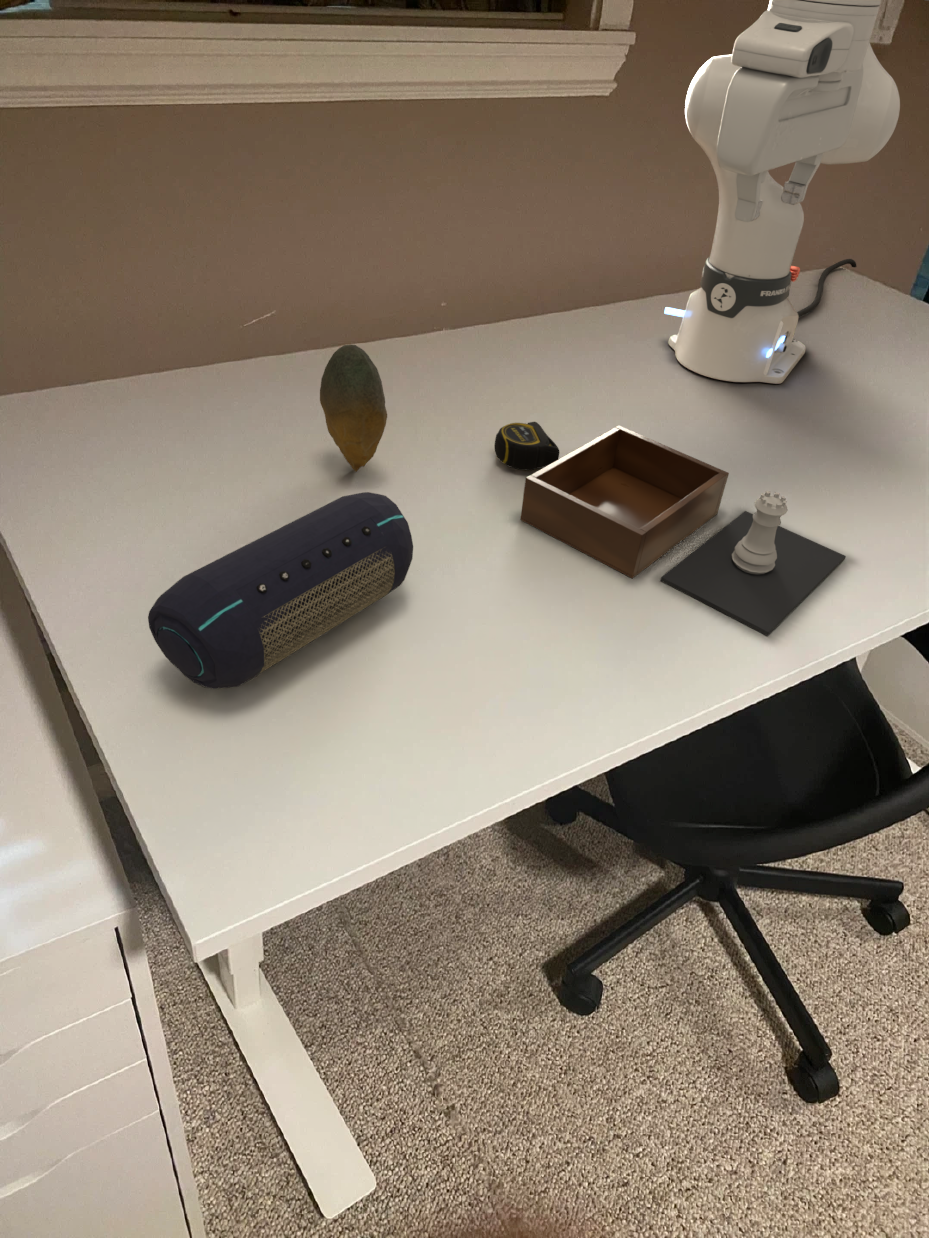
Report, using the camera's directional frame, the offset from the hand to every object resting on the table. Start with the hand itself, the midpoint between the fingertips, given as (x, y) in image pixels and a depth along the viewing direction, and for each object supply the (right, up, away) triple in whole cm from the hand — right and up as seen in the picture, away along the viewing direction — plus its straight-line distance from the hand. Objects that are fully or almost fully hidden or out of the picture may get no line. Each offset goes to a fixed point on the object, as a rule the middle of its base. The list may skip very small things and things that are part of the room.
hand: (769, 211), depth 87 cm
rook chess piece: (+1, -33, +9) cm, 34 cm away
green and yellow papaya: (-42, -22, +19) cm, 51 cm away
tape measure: (-22, -20, +23) cm, 37 cm away
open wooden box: (-12, -27, +15) cm, 33 cm away
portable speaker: (-44, -40, -4) cm, 60 cm away
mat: (+1, -34, +8) cm, 35 cm away
